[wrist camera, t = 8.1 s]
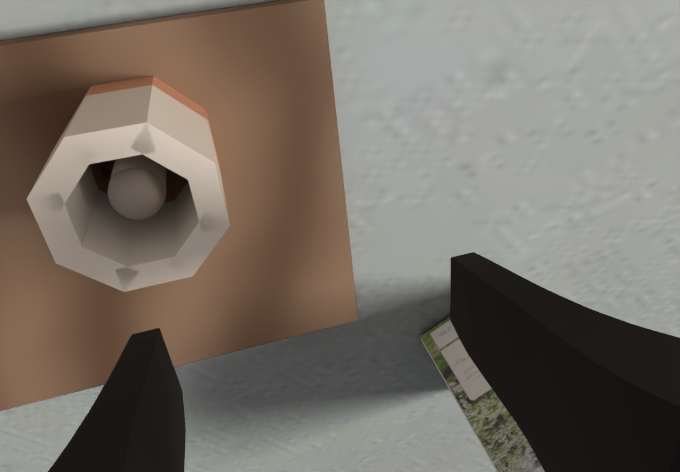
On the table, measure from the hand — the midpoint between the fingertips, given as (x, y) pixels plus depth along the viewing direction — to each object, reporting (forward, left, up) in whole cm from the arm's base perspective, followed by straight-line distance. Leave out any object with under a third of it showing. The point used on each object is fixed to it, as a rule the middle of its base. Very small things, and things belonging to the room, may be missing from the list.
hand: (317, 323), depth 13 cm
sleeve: (-4, +2, -9) cm, 10 cm away
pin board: (-7, -1, -10) cm, 12 cm away
